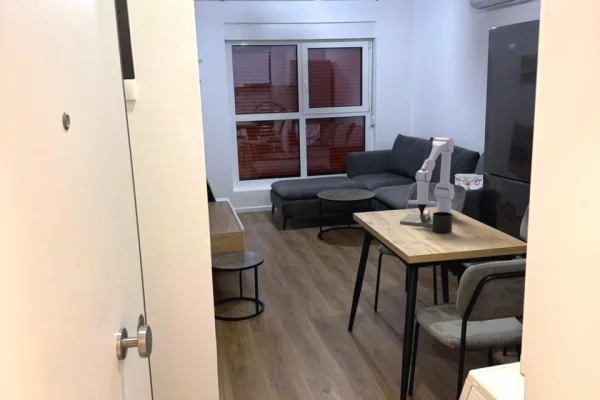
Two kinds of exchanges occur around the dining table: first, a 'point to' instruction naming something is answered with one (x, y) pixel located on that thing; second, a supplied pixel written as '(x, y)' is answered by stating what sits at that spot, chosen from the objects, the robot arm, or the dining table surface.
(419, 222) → the plate
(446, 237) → the dining table surface
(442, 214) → the mug
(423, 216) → the bar
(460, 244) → the dining table surface
